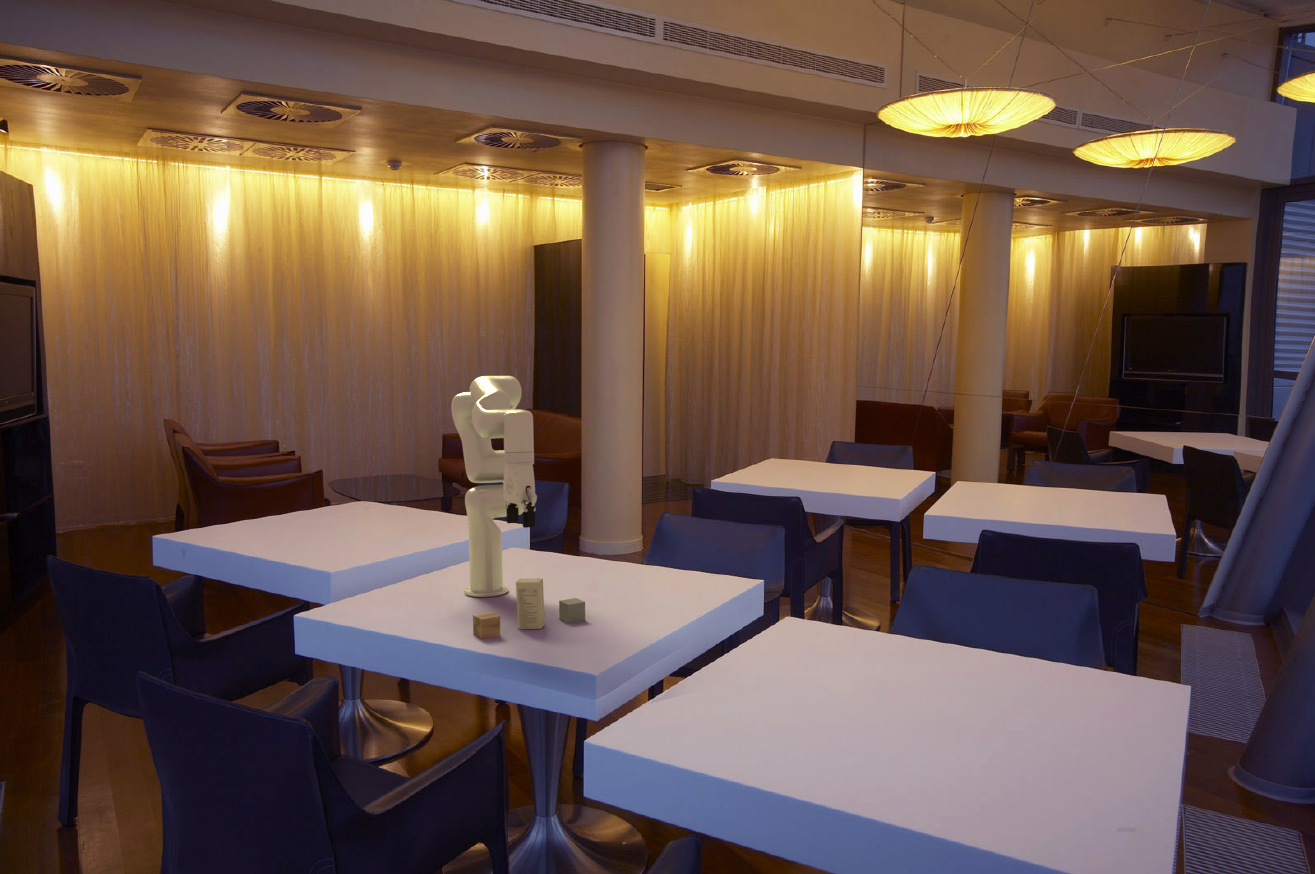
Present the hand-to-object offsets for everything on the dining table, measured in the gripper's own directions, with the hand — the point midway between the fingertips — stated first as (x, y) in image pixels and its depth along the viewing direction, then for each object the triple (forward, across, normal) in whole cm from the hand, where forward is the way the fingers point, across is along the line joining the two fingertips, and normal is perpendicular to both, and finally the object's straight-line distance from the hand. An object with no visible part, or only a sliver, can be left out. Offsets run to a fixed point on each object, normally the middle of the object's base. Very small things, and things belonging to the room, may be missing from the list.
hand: (520, 524), depth 232 cm
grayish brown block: (+26, +4, +12) cm, 29 cm away
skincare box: (+26, +4, 0) cm, 26 cm away
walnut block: (+26, +4, -12) cm, 29 cm away
